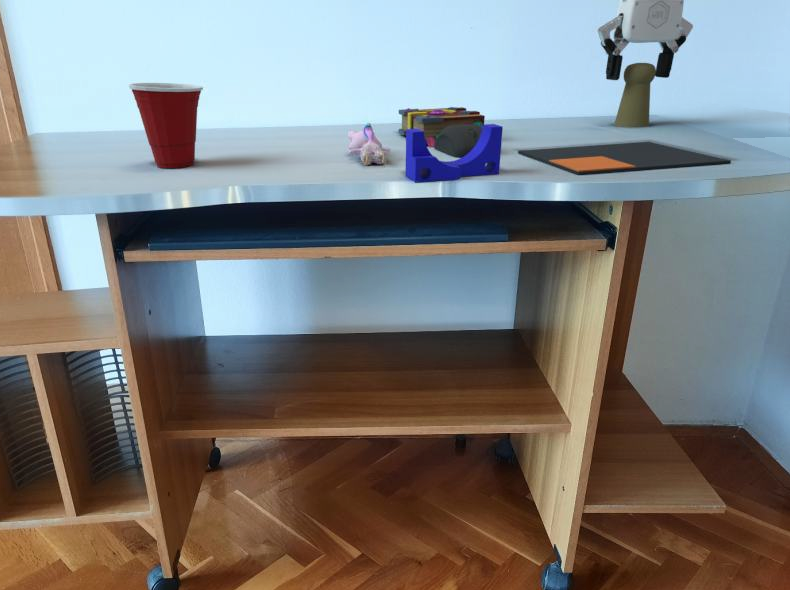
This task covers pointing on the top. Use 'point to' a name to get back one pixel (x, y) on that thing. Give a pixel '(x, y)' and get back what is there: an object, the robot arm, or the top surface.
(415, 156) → the blue cradle bracket
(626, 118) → the cork
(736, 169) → the top surface
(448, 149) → the computer mouse
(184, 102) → the plastic cup
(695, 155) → the desk mat
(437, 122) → the decorative book
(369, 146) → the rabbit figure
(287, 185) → the top surface
